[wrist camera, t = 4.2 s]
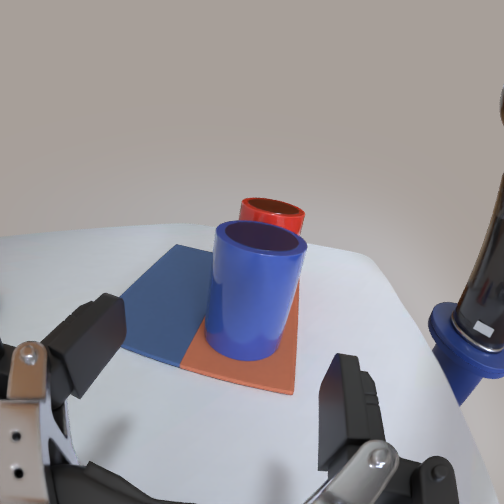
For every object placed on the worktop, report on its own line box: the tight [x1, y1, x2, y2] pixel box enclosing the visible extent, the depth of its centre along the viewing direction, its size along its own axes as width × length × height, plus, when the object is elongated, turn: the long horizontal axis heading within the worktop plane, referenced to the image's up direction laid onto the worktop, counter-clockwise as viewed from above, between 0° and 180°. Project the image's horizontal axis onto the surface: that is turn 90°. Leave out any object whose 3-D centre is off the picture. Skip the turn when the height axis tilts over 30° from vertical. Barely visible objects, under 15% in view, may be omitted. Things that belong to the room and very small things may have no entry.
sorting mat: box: [120, 244, 299, 395], centre depth 27 cm, size 16×19×1 cm
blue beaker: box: [204, 220, 307, 361], centre depth 21 cm, size 6×6×9 cm
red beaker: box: [239, 198, 305, 236], centre depth 29 cm, size 6×6×8 cm
